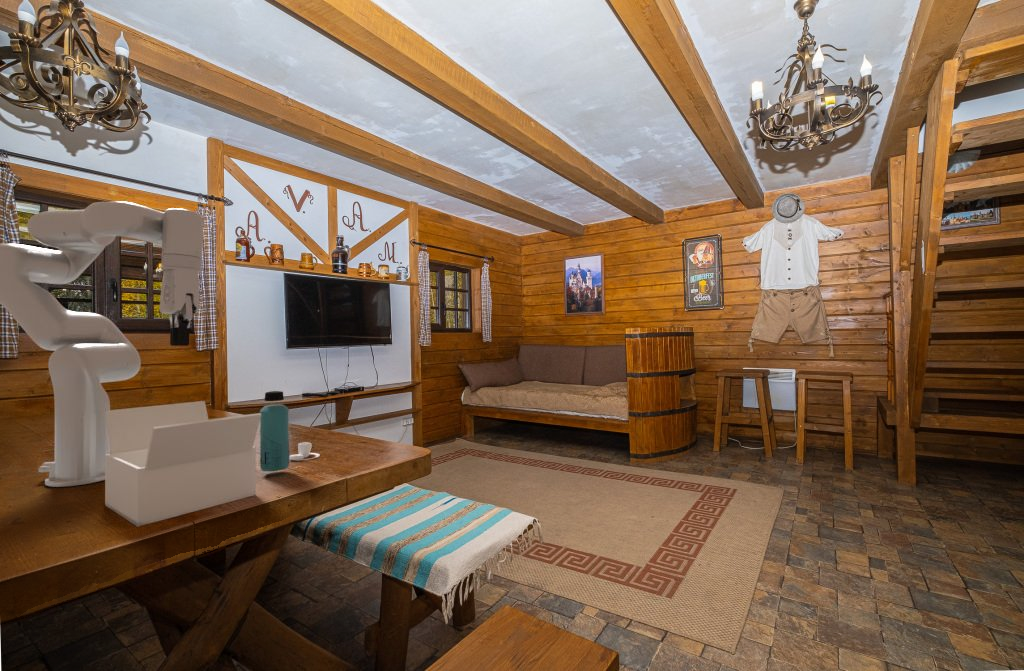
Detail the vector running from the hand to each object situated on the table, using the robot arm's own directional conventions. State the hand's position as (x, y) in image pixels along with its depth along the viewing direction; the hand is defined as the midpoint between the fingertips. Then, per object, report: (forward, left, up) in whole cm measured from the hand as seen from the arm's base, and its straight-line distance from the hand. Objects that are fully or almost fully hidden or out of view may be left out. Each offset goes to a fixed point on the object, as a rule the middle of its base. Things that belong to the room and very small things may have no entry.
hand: (179, 345), depth 106 cm
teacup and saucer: (+17, +21, -32) cm, 42 cm away
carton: (+8, -12, -31) cm, 34 cm away
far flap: (-1, -5, -17) cm, 18 cm away
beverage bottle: (+19, +5, -31) cm, 37 cm away
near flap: (+16, -19, -17) cm, 30 cm away
